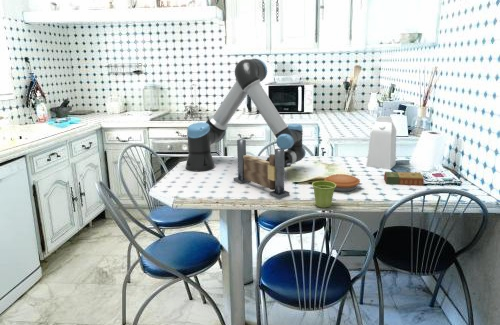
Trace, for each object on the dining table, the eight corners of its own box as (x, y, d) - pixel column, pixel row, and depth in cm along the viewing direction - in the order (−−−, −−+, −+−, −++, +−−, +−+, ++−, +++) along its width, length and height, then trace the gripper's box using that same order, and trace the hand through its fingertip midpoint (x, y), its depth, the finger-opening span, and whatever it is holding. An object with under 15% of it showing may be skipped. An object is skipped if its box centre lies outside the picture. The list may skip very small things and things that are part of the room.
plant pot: (336, 202, 165) (337, 181, 162) (333, 210, 156) (334, 189, 154) (313, 200, 168) (314, 179, 165) (309, 208, 159) (309, 186, 157)
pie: (353, 195, 172) (353, 184, 171) (318, 190, 180) (319, 179, 179) (364, 185, 185) (364, 175, 183) (331, 180, 193) (331, 170, 191)
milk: (395, 164, 218) (399, 115, 211) (389, 169, 209) (393, 118, 202) (373, 161, 224) (375, 114, 218) (366, 166, 215) (369, 117, 208)
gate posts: (233, 181, 195) (232, 140, 189) (243, 178, 198) (242, 138, 193) (278, 198, 170) (278, 152, 165) (289, 195, 173) (289, 149, 168)
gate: (243, 179, 191) (242, 147, 187) (247, 177, 192) (247, 146, 189) (272, 190, 174) (272, 156, 170) (277, 189, 176) (277, 155, 172)
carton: (423, 186, 183) (424, 177, 182) (385, 185, 186) (386, 176, 185) (419, 180, 190) (420, 172, 189) (383, 179, 194) (384, 170, 193)
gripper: (298, 167, 199) (274, 180, 180) (274, 164, 206) (248, 176, 187) (298, 152, 197) (274, 164, 178) (274, 149, 205) (248, 160, 186)
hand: (261, 170), depth 183 cm, fingers closed
